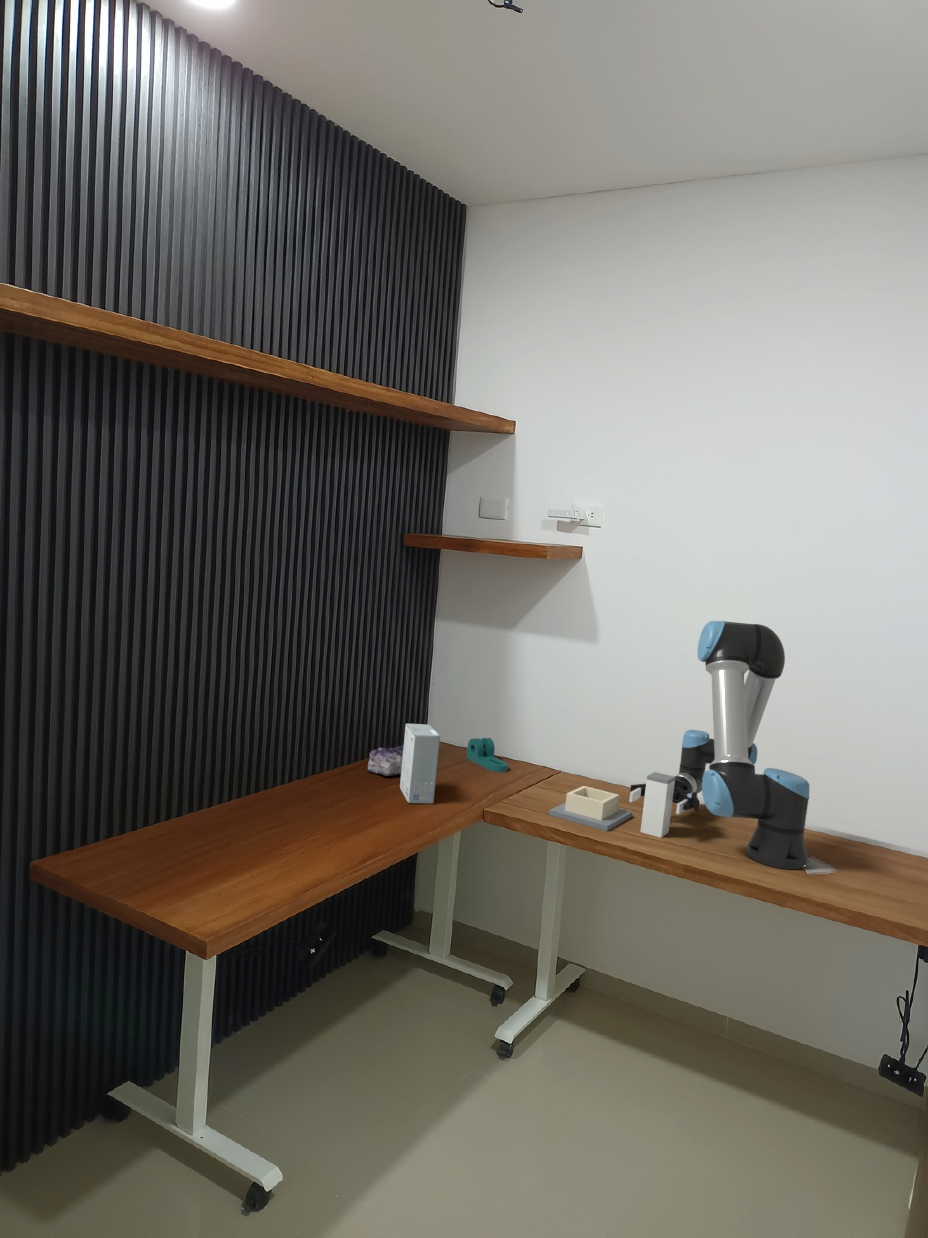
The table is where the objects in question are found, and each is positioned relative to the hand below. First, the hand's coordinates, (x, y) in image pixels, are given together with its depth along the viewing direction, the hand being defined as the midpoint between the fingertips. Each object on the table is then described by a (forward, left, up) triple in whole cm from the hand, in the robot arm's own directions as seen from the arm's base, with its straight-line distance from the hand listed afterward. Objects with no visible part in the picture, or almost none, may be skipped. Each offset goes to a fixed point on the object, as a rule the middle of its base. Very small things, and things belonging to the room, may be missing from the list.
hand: (654, 803), depth 246 cm
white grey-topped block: (0, -3, -9) cm, 10 cm away
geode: (+82, +6, -9) cm, 83 cm away
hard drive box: (+64, +22, -9) cm, 68 cm away
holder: (+19, -2, -9) cm, 21 cm away
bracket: (+68, -27, -9) cm, 74 cm away
